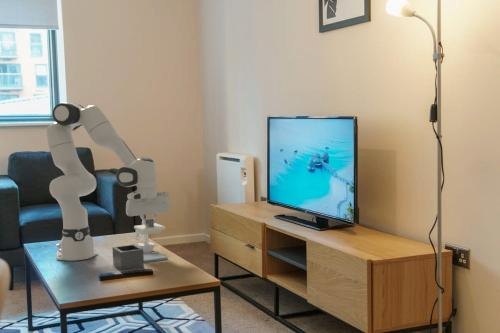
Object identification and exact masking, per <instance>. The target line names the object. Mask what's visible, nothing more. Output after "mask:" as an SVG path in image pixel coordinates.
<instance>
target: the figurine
mask: <svg viewBox="0 0 500 333" xmlns="http://www.w3.org/2000/svg"><path fill="white" fill-rule="evenodd" d="M141 225H144V224H143V220H142V221H141ZM134 232H135V240H136V241H139V240H140V235H142V242H139V243H136V245H137V246H138V247H140V248H142V249H143V253H150V252H154V249H155V246H156V244H155V243H154V242H152V241H149V234H147V235H145V234H143V233H141V232H139V230H136V229H135V231H134Z"/></svg>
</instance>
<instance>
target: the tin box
mask: <svg viewBox="0 0 500 333" xmlns="http://www.w3.org/2000/svg"><path fill="white" fill-rule="evenodd" d="M112 262H113V263H112V264H113V266H114V267H115V268H117V269H118V270H119V271H122V270H124V271H130V270H134V269H135V270H136V269H143V268H145V263H144V256H143V249H142V248H140V247H138V245H137V244H134V243H133V244H127V245H126V244H125V245H120V246H119V245H117V246H112ZM129 269H130V270H129ZM122 272H123V271H122Z"/></svg>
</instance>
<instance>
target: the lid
mask: <svg viewBox="0 0 500 333" xmlns="http://www.w3.org/2000/svg"><path fill="white" fill-rule="evenodd" d="M144 219H145V220H147V224H145V225H142V224H140V225H139V224H138V225H134V226H133V229H134V230H135V231H136V230H139V232H141V233H143V234H145V235H147V234H148V235H155V234H161V232H162V231H164V230H166V227H167V226H164V225H162V224H159V223H156V222H155V223H154V219H153V217H146V218H145V217H144ZM143 234H142V235H143Z"/></svg>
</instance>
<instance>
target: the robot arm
mask: <svg viewBox="0 0 500 333" xmlns="http://www.w3.org/2000/svg"><path fill="white" fill-rule="evenodd" d="M52 109H53V110H52V113H51V114H52V118H53V120H54V121H55V122H52V123H50V124H49V125H48V126H47V128H46V138H47V143H48V147H49V151H50V154H51V157H52V161H53V164H54V166H55V167H56V168H58V169H60V170H61V171H62V172H63V174H64V175H60V176H58V177H55V178H54V179H52V180H51V181H50V183H49V193H50V195H51V196H52V198H54V199H55V200H56V201H57V202H58V204H59V207H60V209H61V214H62V223H63V225H62V226H63V228H62V232H61V233H62V237H61V240H60V242H59V243H56V246H57V249H59V250H58V251H56V252H55V253H56V261H69V262H70V261H73V262H74V261H84V260H87V259H88V260H89V259H91V258H93V257H96V256H98V252H96V251H95V246H94V238H93V237H92V236H91V235H90V226H89V221H88V220H89V219H88V218H89V216H88V210H87V208H86V207H85V206H83V205H82V203H81V200H80V197H83V196H84V197H85V196H88V195H90V194H91V193H93V192H94V191H95V190H96V188H97V184H98V183H97V179H96V177H95V176H94V175H93V174H92V173H90V172H89V171H88V170H87V169H86V167H85V166H84V165H83V163H82V162H81V160H80V157H79V156H78V152H77V149H76V145H75V143H74V138H73V135H72V132H73V131H76V130H77V129H79V128H80V127H81V126H82V127H83V128H84V129H85V131H86V132H87V134H88V136H89V137H90V139H91V141H93V143H94V144H95V145H97V146H98V147H100V148H104V149H107V150H109V151H111V152H113V153H114V154H116V156H117V157H118V159H119V160H120V161H121V162H122V164H123V165H124V166H121V167H119V169H117V171H116V174H115V179H116V182H117V184H119V185H120V186H121V187H125V188H129V187H134V186H136V190H134V191H132V192H130V193H128V194H127V201H126V203H125V214H126V215H127V216H128V217H136V216H139V217H140V219H141V220H142V221H143V224H144V225H145V224H147V220H145V216H146V215H152V216H153V217H152V219H154V223H156V220H157V217H158V214H161V213H168V212H170V211H171V203H170V194H169V193H168V192H167V191H162V192H161V191H159V192H158V187H157V183H156V179H157V170H156V164H155V162H154V160H153V159H151V158H149V157H138V158H137V157H136V156H135V155H134V153H133V151H132V150H131V149H130V148H129V145H127V143H126V142H125V141H124V140H123V139H122V137H121V136H120V135H119V134H118V132H117V131H116V129H115V128H114V127H113V125H112V124H111V121H110V120H109V119H108V117H107V116H106V115H105V112H103V111H102V109H100V108H99V106H97V105H93V104H92V105H87V106H85V107H84V106H82V105H81V104H77V103H75V102H67V101H63V102H59V103H58V104H55V106H54V107H53V108H52Z"/></svg>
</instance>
